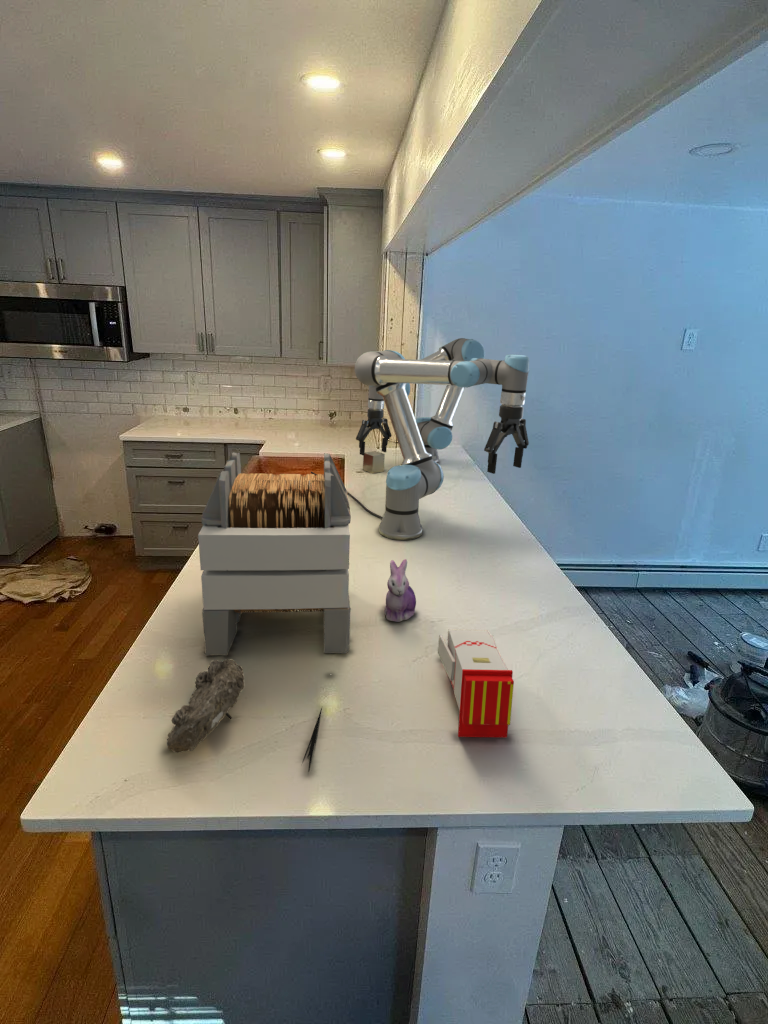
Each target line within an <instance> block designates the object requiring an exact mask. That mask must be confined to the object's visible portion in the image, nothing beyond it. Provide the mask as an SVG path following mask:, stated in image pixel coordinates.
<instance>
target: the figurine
mask: <svg viewBox="0 0 768 1024" xmlns="http://www.w3.org/2000/svg"><path fill="white" fill-rule="evenodd" d="M407 567H408V559H406V558H404V559H403V560H402V561H401V563H400V565H399V566H398V565H397V563H396V562H395V561H394V560H393V559H391V560H390V561H389V570H390V576H389V578H388V579H387V589H388V591H387V592H386V594H385V595H386V596H385V607H384V615H385V616H386V620H387V621H391V622H395V623H400V622H402V621H406V620H409V619H410V618H411V617H413V616H414V615H415V610H416V606H417V597H416V593H415V591H414V590H413V587H411V586H410V582H409V579H408V577H407V574H406V571H407Z"/></svg>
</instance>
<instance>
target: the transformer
mask: <svg viewBox="0 0 768 1024" xmlns="http://www.w3.org/2000/svg"><path fill="white" fill-rule="evenodd" d="M241 463H242V462H241V453H240V452H235V451H233V452H231V455H230V457H229V459H227V460H226V463H225V466H224V468H223V470H222V471H220V474H219V475H218V477H217V479H216V482H215V483H214V486H213V489H212V491H211V494H210V495H209V498H208V499H207V502H206V505H205V507H204V509H203V511H202V514H201V517H200V520H201V524H202V527H201V529H200V530H199V532H198V535H197V538H198V550H199V552H198V553H199V563H200V565H199V567H200V571H202V573H201V575H200V580H201V581H200V582H201V594H202V605H203V607H202V609H201V610H202V611H201V617H202V629H203V638H204V639H203V640H204V649H205V650H204V651H205V652H204V655H205V656H206V657H212V656H228V654H229V652H230V650H231V647H232V645H233V643H234V640H235V638H236V635H237V632H238V623H240V620H241V617H242V614H244V613H250V614H251V613H253V614H254V613H257V614H258V613H298V612H301V613H302V612H308V613H309V612H322V614H323V654H344V655H346V654H347V653H349V652H350V639H351V604H350V595H349V594H350V593H349V586H350V585H349V584H350V572H349V571H350V570H349V569H350V549H351V548H350V547H351V545H350V542H351V533H350V532H351V531H350V526H349V525H350V524H351V520H352V516H351V515H352V514H351V509H350V502H349V495H348V494H347V492H348V490H347V488H346V486H345V484H344V482H343V480H342V478H341V474H340V473H339V471H338V469H337V466H336V465H335V462H334V460H333V458H332V455H331V454H330V453H326V452H324V453H323V473H322V474H321V473H318V474H317V473H315V474H316V476H315V474H312V473H306V474H303V475H302V474H301V473H280V474H273V473H244V472H243V473H242V466H241Z"/></svg>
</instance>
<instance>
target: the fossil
mask: <svg viewBox="0 0 768 1024" xmlns="http://www.w3.org/2000/svg"><path fill="white" fill-rule="evenodd" d="M243 670H244V669H243V667H242V665H240V664H237V662H236V661H235V660H234V659H232V658H231V659H227V658H226V659H224V660H223V661H222V660H217V659H212V660H211V661H210V663H209V665H208V666H207V671H201V672H199V673H198V674H197V675H196V676H195V680H194V684H195V685H194V687H195V689H194V690H193V693H192V694H191V697H190V698H189V700H188V704H184V705H182V706H181V707H180V709H177V710H176V711H175V713H174V715H173V716H172V718H171V723H172V724H173V727H172V730H171V731H170V732H168V734H167V738H166V741H167V742H166V745H167V749H168V750H169V751H173V752H174V753H176V754H178V753H182V752H188V751H189V752H192V751H193V750H195V748H196V747H197V746H199V744H200V743H201V742H203V741H204V740H205V739H206V738H207V737H208V736H209V735H210V734H211V733H212V732H214V730H215V729H217V727H218V726H219V724H220V722H221V721H222V720H223V719H224V718H225V716H226V717H227V719H229V720H233V717H232V715H230V714H229V710H230V709H231V708H234V706H235V704H236V703H237V702H238V699H239V697H240V695H241V693H242V691H243V690H245V689H244V688H245V675H244V671H243Z"/></svg>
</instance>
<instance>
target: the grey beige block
mask: <svg viewBox="0 0 768 1024" xmlns="http://www.w3.org/2000/svg"><path fill="white" fill-rule="evenodd" d="M385 455H386V454H385V453H384V452H383V453H382V452H379V451H377V450H373V451H372V450H371V451H365V455H362V456H363V457H362V471H364V472H367V473H369V474H372V475H373V474H378V473H382V472H385V458H386V457H385Z"/></svg>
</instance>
